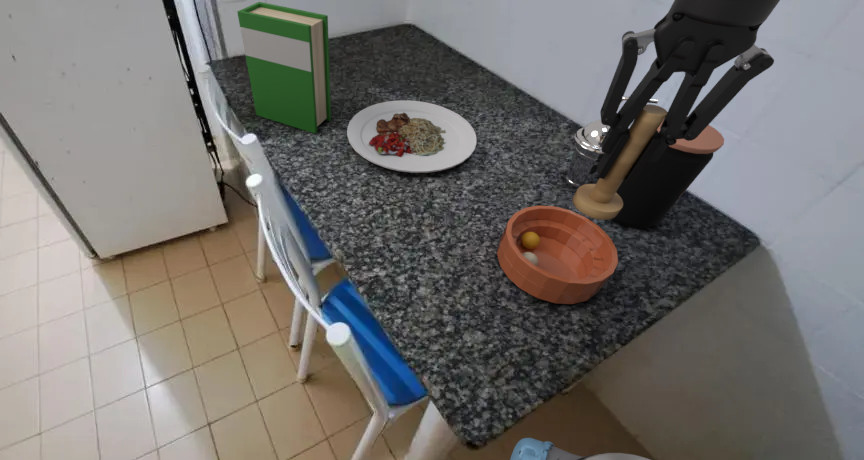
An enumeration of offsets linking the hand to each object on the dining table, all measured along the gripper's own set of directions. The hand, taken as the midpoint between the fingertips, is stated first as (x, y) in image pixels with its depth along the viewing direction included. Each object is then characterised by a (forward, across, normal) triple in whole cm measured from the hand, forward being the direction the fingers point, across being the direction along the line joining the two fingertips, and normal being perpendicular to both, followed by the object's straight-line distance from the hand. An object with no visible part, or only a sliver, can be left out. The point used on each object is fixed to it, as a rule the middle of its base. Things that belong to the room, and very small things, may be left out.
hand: (614, 175), depth 52 cm
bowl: (+20, +2, 0) cm, 20 cm away
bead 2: (+18, +5, +3) cm, 19 cm away
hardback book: (+20, +63, -26) cm, 71 cm away
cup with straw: (+20, -4, -26) cm, 33 cm away
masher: (+6, 0, 0) cm, 6 cm away
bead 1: (+18, +5, -2) cm, 18 cm away
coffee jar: (+20, -12, -20) cm, 31 cm away
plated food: (+20, +33, -28) cm, 48 cm away
